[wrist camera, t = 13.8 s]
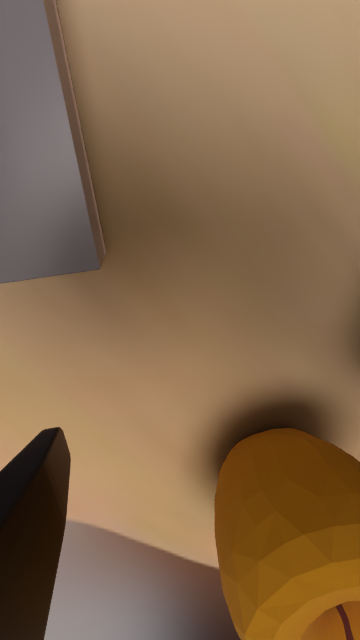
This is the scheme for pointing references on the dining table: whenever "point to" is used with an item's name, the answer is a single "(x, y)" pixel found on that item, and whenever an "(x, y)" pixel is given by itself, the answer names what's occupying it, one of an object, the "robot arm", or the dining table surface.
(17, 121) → the square plate with hole
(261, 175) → the dining table surface
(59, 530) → the robot arm
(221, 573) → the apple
